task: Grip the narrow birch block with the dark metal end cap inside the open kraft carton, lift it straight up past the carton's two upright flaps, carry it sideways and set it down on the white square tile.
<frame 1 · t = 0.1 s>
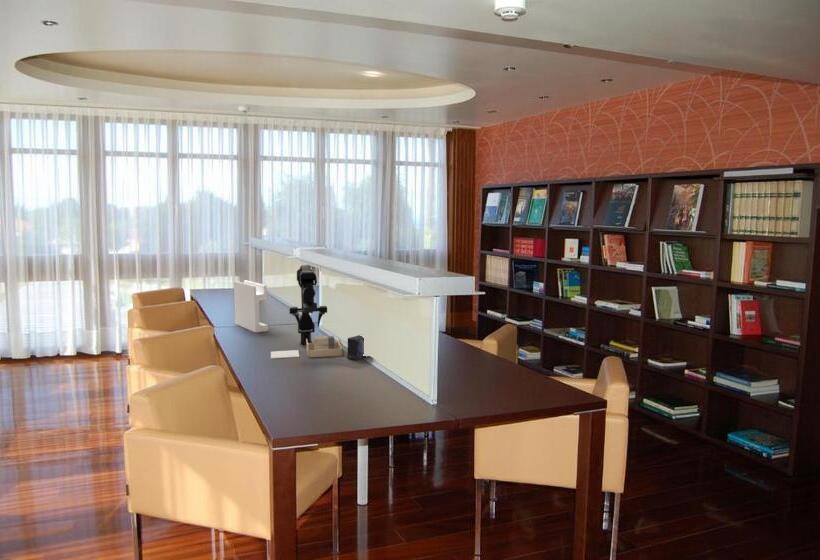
hand: (308, 326, 321), 15 cm above the table, tool pointing down, fingers open, 9 cm apart
block: (251, 327, 398), on the table
white square tile: (284, 354, 323), on the table
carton: (324, 352, 327), on the table
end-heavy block: (324, 352, 328), resting in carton
small box: (359, 358, 316), on the table
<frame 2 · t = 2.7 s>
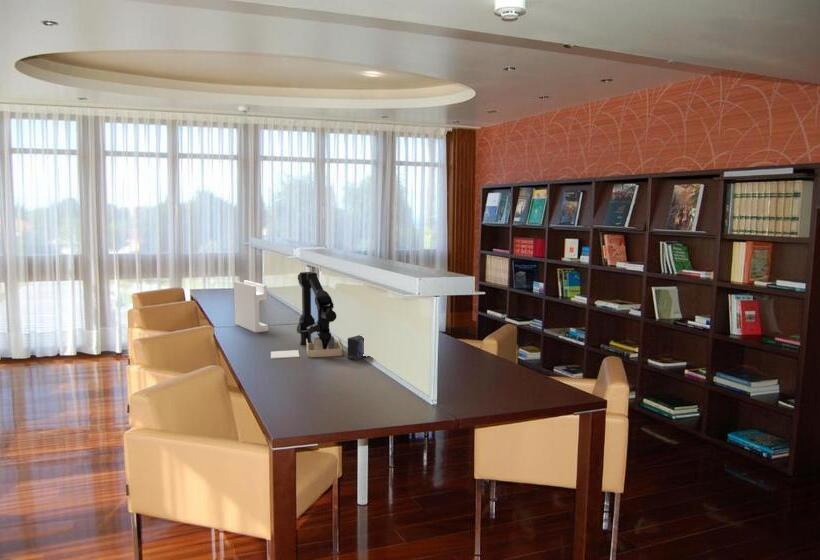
hand: (324, 348, 327), 2 cm above the table, tool pointing down, fingers closed on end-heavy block, 5 cm apart
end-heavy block: (324, 352, 328), resting in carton, touching gripper
everything else where it was.
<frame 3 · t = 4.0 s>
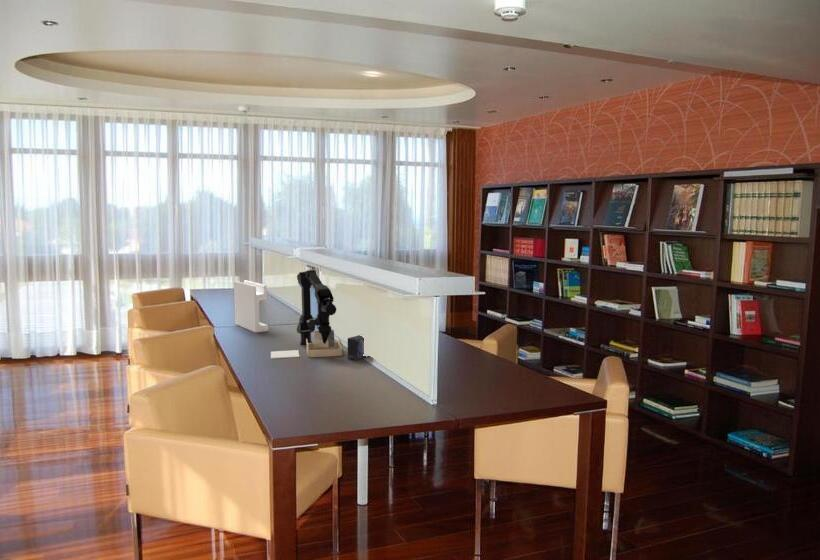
hand: (324, 342, 327), 5 cm above the table, tool pointing down, fingers closed on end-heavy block, 5 cm apart
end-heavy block: (324, 346, 327), point 3 cm above the table, touching gripper
everything else where it was.
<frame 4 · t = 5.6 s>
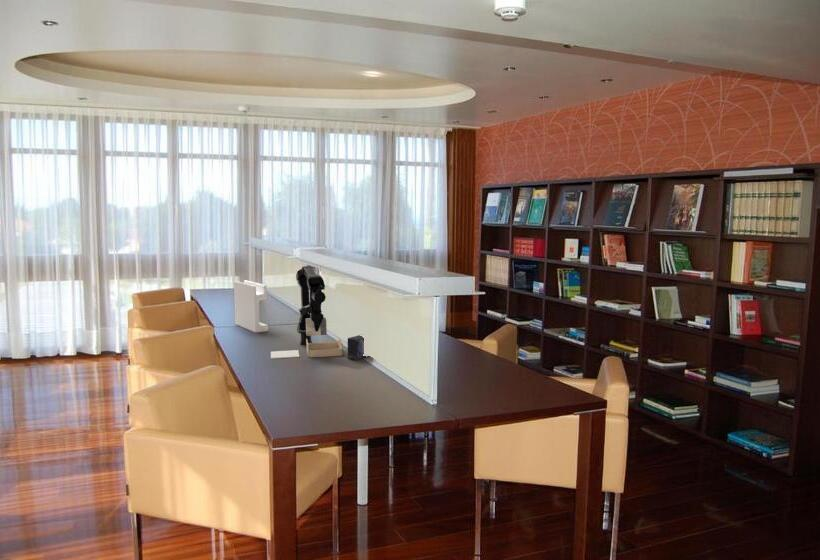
hand: (316, 330, 325), 12 cm above the table, tool pointing down, fingers closed on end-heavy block, 5 cm apart
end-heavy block: (316, 334, 326), point 10 cm above the table, touching gripper
everything else where it was.
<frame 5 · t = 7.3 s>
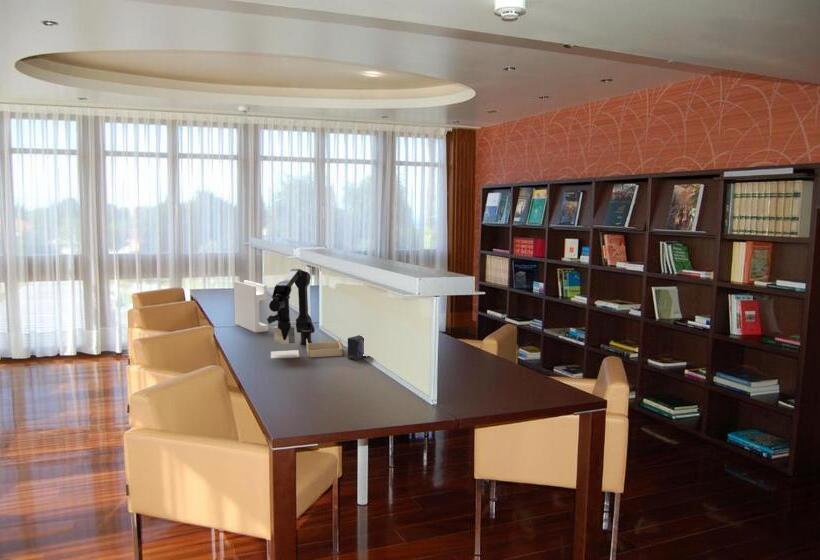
hand: (284, 338, 322), 8 cm above the table, tool pointing down, fingers closed on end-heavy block, 5 cm apart
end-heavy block: (284, 342, 323), point 6 cm above the table, touching gripper
everything else where it was.
when the fingers open (3 cm above the table, at t = 8.9 s): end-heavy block stays where it is, resting on white square tile.
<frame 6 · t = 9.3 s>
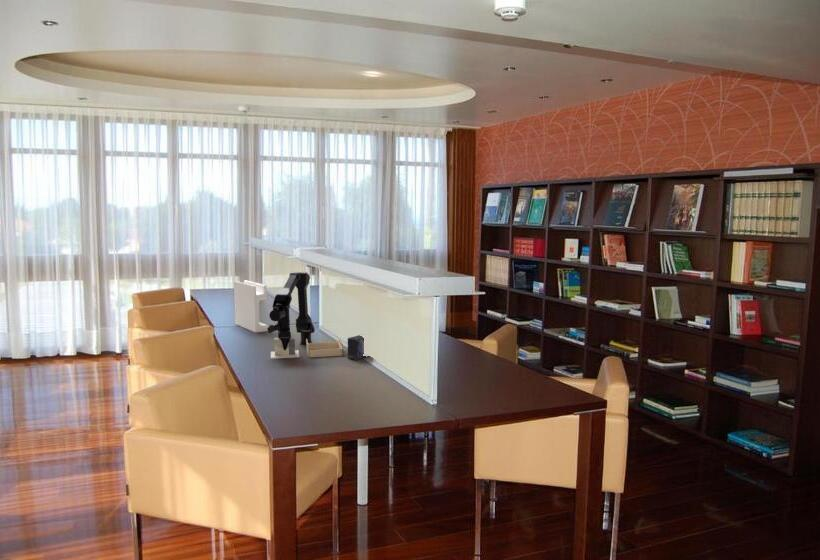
hand: (284, 348, 323), 3 cm above the table, tool pointing down, fingers open, 9 cm apart
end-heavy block: (284, 353, 323), resting on white square tile
everything else where it was.
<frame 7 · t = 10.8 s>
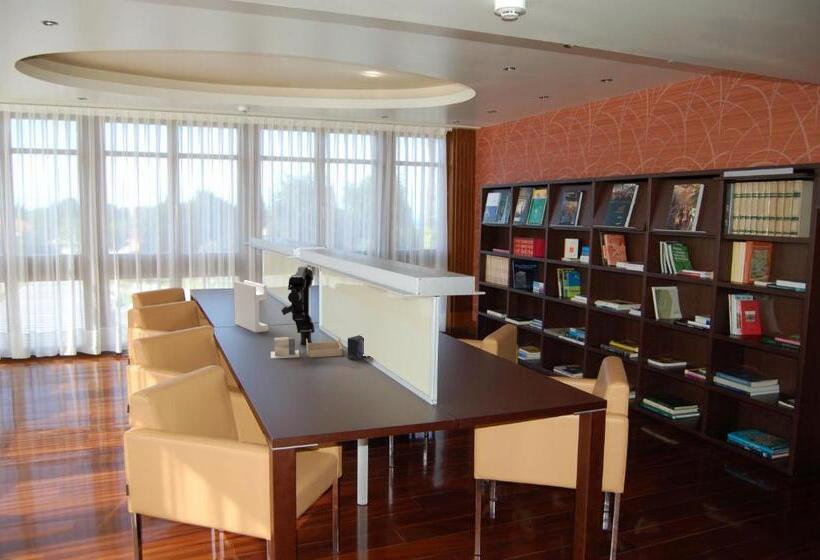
hand: (298, 329, 328), 12 cm above the table, tool pointing down, fingers open, 9 cm apart
nothing on the table moved.
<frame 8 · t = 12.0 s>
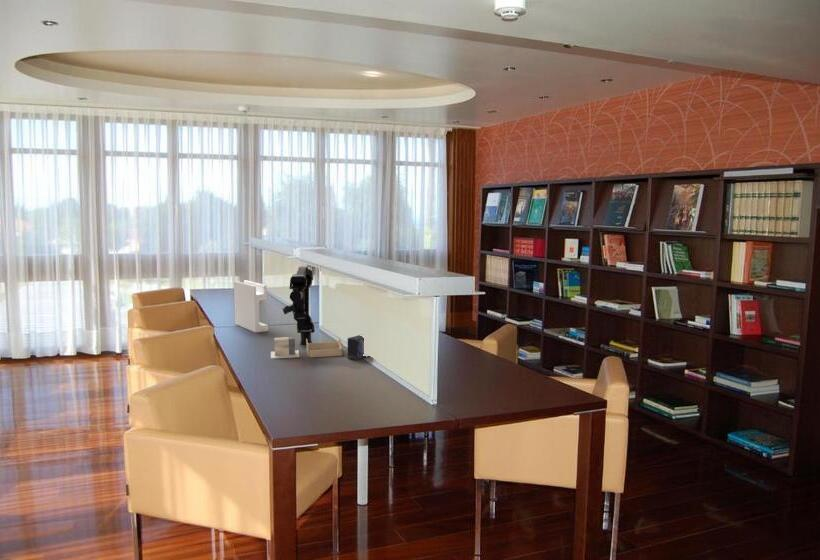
hand: (299, 329, 328), 12 cm above the table, tool pointing down, fingers open, 9 cm apart
nothing on the table moved.
at the end: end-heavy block inside the target area (0.0 cm from its centre), point 0.5 cm above the table; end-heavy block tilted 0°; the gripper is holding nothing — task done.
